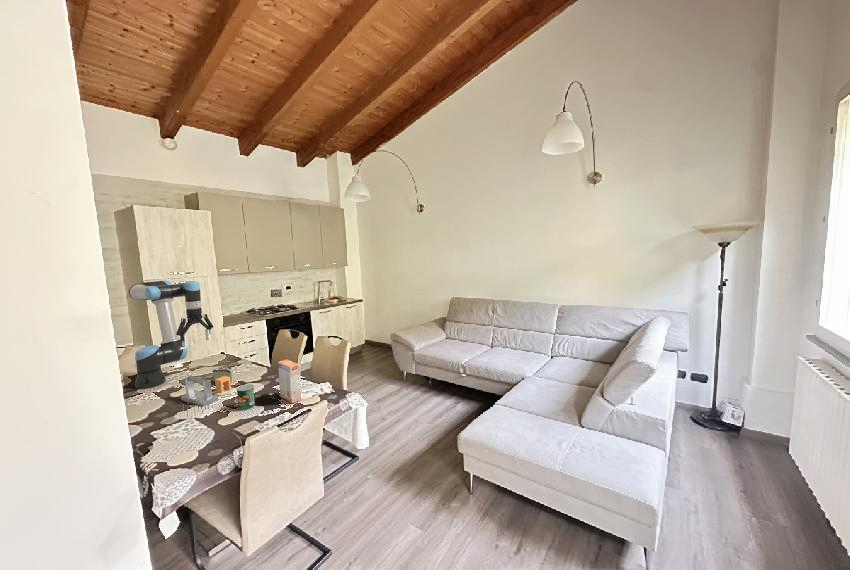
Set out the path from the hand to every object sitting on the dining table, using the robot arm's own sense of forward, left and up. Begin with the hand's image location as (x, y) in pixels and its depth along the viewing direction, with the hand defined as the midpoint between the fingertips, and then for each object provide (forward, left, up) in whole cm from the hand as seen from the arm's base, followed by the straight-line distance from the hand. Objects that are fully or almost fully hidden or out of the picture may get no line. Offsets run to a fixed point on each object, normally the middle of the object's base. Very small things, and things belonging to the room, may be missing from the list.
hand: (196, 343), depth 203 cm
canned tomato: (+45, -4, -29) cm, 54 cm away
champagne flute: (-57, +19, -29) cm, 66 cm away
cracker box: (+59, +13, -29) cm, 67 cm away
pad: (+15, +4, -29) cm, 33 cm away
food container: (+4, +13, -29) cm, 32 cm away
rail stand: (+13, -9, -29) cm, 33 cm away
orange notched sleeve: (+15, +4, -28) cm, 32 cm away
